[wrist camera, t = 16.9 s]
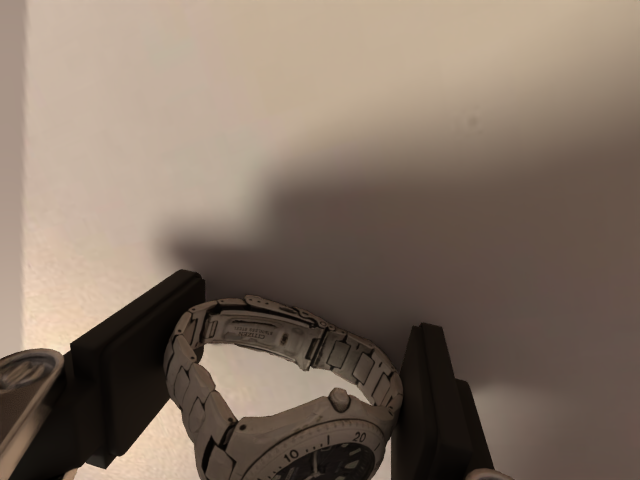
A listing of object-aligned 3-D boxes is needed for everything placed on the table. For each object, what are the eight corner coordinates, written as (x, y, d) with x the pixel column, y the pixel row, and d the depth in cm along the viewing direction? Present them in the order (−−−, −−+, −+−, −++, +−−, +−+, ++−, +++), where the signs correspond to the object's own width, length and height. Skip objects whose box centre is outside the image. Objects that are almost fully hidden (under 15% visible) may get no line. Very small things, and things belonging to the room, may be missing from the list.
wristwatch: (376, 409, 11) (365, 612, 6) (203, 335, 12) (78, 475, 7) (422, 324, 10) (451, 500, 5) (227, 244, 10) (93, 341, 6)
